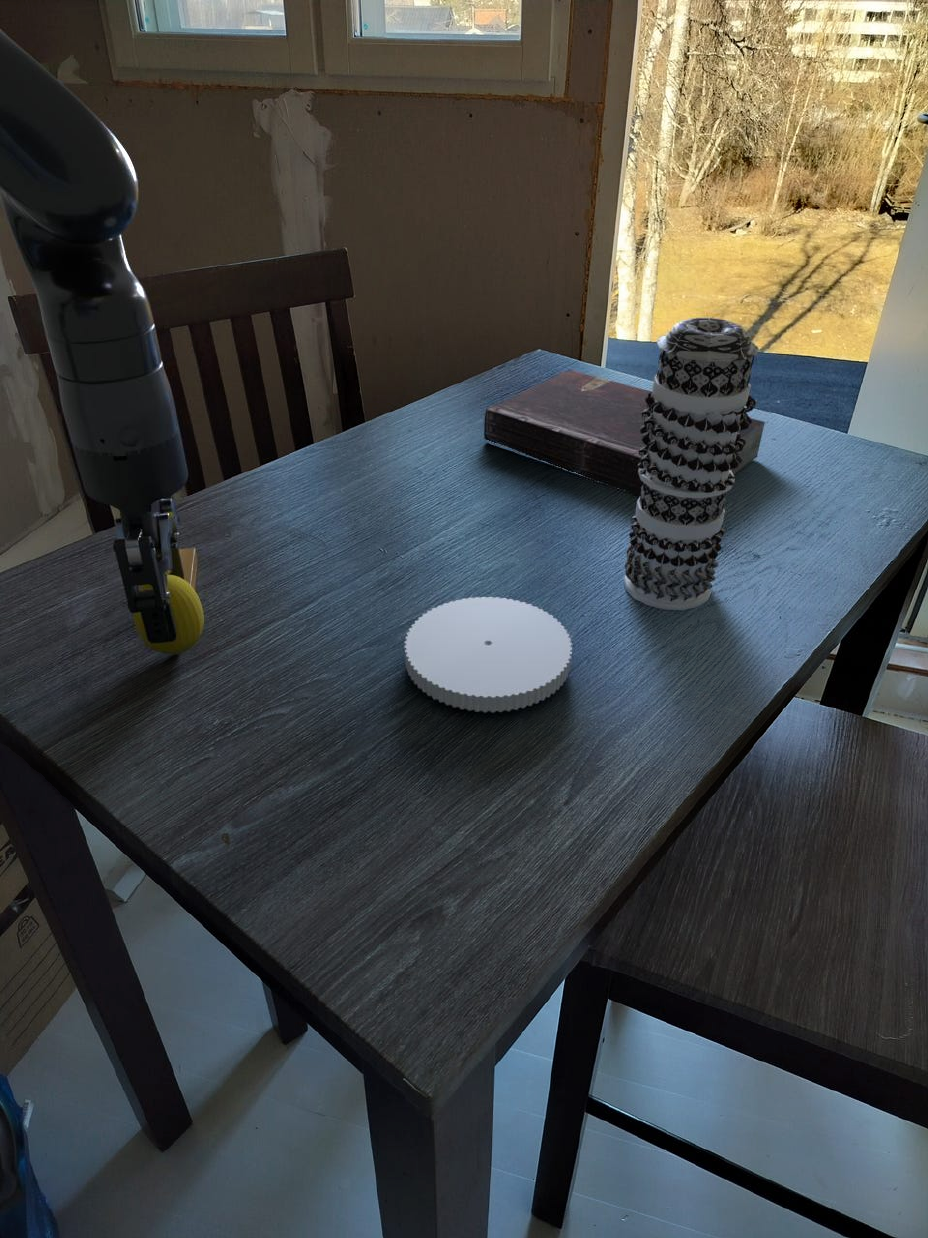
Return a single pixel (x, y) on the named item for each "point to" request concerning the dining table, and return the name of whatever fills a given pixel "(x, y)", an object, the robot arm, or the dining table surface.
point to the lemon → (178, 617)
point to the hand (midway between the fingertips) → (167, 610)
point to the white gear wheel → (488, 654)
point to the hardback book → (586, 427)
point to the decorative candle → (689, 461)
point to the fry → (189, 565)
